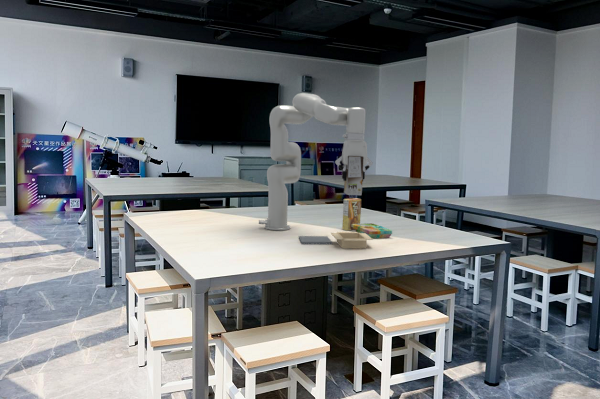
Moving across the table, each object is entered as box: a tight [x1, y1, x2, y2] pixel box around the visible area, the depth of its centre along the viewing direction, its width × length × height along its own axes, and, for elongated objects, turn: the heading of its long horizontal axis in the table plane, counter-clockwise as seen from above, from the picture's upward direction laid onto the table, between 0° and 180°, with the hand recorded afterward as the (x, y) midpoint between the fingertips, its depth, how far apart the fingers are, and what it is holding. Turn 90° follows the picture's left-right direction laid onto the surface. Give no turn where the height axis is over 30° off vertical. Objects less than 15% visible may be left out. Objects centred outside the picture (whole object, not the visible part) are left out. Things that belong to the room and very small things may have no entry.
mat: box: [298, 235, 333, 245], centre depth 217 cm, size 13×13×1 cm
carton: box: [330, 231, 374, 249], centre depth 211 cm, size 15×18×4 cm
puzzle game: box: [351, 222, 393, 239], centre depth 237 cm, size 12×5×20 cm
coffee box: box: [343, 156, 364, 196], centre depth 208 cm, size 9×6×16 cm
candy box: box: [341, 197, 362, 231], centre depth 249 cm, size 9×4×15 cm, turn 129°
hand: (353, 180), depth 209 cm, fingers closed on coffee box, 6 cm apart
